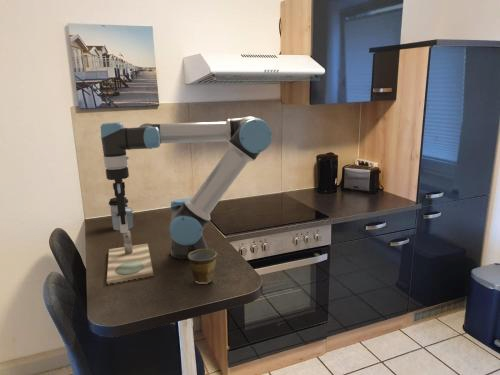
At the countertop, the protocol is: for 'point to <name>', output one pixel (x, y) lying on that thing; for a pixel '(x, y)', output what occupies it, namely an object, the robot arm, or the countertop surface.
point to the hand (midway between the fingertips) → (124, 228)
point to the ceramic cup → (202, 264)
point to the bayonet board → (128, 262)
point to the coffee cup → (114, 202)
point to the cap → (116, 219)
